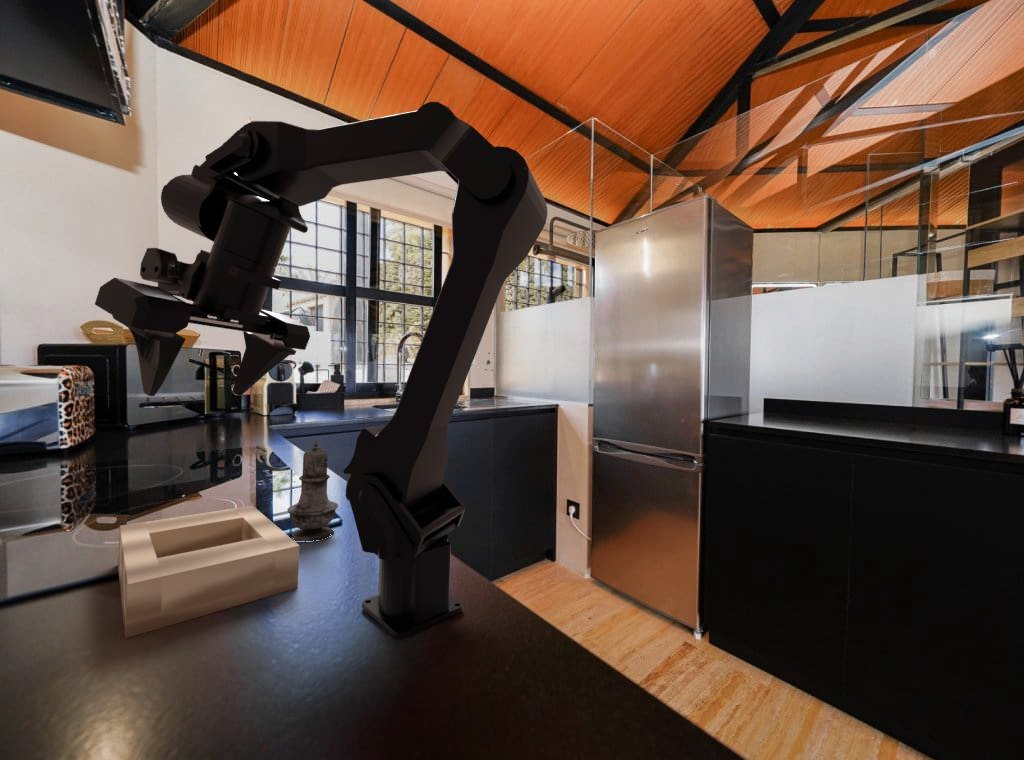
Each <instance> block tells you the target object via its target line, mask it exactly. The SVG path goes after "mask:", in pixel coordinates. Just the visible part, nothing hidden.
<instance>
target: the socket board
mask: <svg viewBox="0 0 1024 760" xmlns="http://www.w3.org/2000/svg"><path fill="white" fill-rule="evenodd" d="M118 534H119V535H118V555H117V556H118V557H117V569H118V579H119V590H120V591H119V592H120V598H121V599H120V600H121V601H120V602H121V607H122V608H121V611H122V621H123V628H124V630H123V631H124V639H128V638H131V637H135V636H137V635H143V634H145V633H148V632H152V631H155V630H159V629H162V628H166V627H168V626H172V625H175V624H176V625H177V624H179V623H182V622H186V621H190V620H193V619H196V618H201V617H202V616H206V615H210V614H213V613H217V612H220V611H223V610H227V609H230V608H234V607H237V606H241V605H244V604H248V603H251V602H255V601H259V600H261V599H264V598H268V597H272V596H275V595H279V594H282V593H285V592H290V591H291V590H296V589H298V588H299V568H300V567H299V565H300V545H299V544H298V543H297V542H295V541H294V540H293V539H291V538H290V537H289V536H290V535H288V534H287V533H286V532H284V531H283V530H282V529H281V528H280V527H278V526H277V525H276V524H275V523H274V522H272V521H271V519H269V518H268V517H267V516H265V515H264V514H263V513H262V512H261V511H260V510H258V509H257V508H256V507H255V506H254V505H247V506H241V507H235V508H234V507H233V508H228V509H221V510H216V511H208V512H201V513H195V514H188V515H181V516H175V517H169V518H161V519H156V520H148V521H142V522H135V523H129V524H122V525H119V533H118Z"/></svg>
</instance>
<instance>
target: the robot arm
mask: <svg viewBox="0 0 1024 760" xmlns="http://www.w3.org/2000/svg"><path fill="white" fill-rule="evenodd" d="M204 158H205V160H204V161H203V162H202V164H200V165H198V164H195V165H193V167H192V168H193V169H192V171H191V173H190V174H181V175H180V174H179V175H177V176H174V177H173V178H171V179H170V180H169V181H168V182H167V183H166V184H164V185H163V187H162V190H161V193H160V203H161V206H162V209H163V211H164V214H165V215H166V216H167V218H168V219H169V220H171V221H172V222H173V223H174V224H176V225H178V226H179V227H181V228H183V229H185V230H188V231H189V232H192V233H194V234H196V235H199V236H200V237H203V238H205V239H207V240H209V241H211V242H213V243H212V246H211V249H210V251H206V250H204V249H200V252H198V253H197V255H196V256H195V259H194V262H193V263H187V262H183V261H179V260H178V257H177V253H175V252H171V251H167V250H164V249H162V248H159V247H158V248H157V247H147V248H146V251H145V253H144V255H143V257H142V260H141V262H140V268H139V269H140V270H139V271H140V272H139V275H140V278H141V279H142V280H144V281H149V282H152V283H157V286H156V285H150V284H145V283H141V282H138V281H137V282H136V281H133V280H128V279H124V278H118V277H113V278H112V279H110V280H108V281H107V282H105V283H104V284H102V285H101V286H100V287H99V289H98V293H97V296H96V300H95V302H94V306H96V307H98V308H100V309H102V310H103V311H105V312H107V313H108V314H110V315H111V316H112V319H113V320H115V321H117V322H118V323H119V324H122V325H124V326H125V327H127V328H128V330H129V331H130V334H131V336H132V338H133V341H134V344H135V347H136V350H137V351H136V352H137V358H138V364H139V369H140V377H141V378H140V379H141V384H142V391H143V393H144V394H146V395H147V396H148V397H155V396H156V394H157V393H158V391H160V389H161V388H162V386H163V384H164V382H165V380H166V378H167V377H168V375H169V373H170V371H171V368H172V367H173V365H174V363H175V361H176V360H177V357H178V355H179V353H180V351H181V350H182V347H183V346H184V344H185V342H186V338H185V337H183V335H180V334H178V333H179V332H180V331H183V330H185V329H186V328H187V327H188V326H189V324H195V325H200V326H207V327H213V328H221V329H226V330H233V331H239V332H242V334H243V337H244V338H243V340H244V344H245V345H244V346H245V350H244V353H243V355H242V359H241V362H240V365H239V366H238V367H239V368H238V369H237V370H238V371H237V373H236V377H235V380H234V383H233V389H232V392H233V394H234V395H236V396H243V395H244V394H245V393H246V392H247V391H249V389H250V388H252V387H253V386H254V385H256V383H257V382H258V381H260V379H262V378H263V377H265V375H266V374H268V373H269V372H270V371H271V370H273V369H274V368H276V366H278V365H279V364H280V363H281V362H283V361H285V359H287V358H288V357H289V356H294V355H296V353H297V350H303V351H304V350H306V349H307V346H308V344H309V341H310V339H311V334H310V331H309V328H308V326H307V325H305V324H303V323H301V322H299V321H297V320H295V319H293V318H290V317H289V316H287V315H285V314H283V313H278V312H273V311H269V310H266V309H262V308H263V305H264V302H265V299H266V297H267V295H268V291H269V288H271V289H273V290H279V289H280V285H281V282H282V280H280V279H278V278H276V277H274V276H275V272H276V269H277V267H278V264H279V262H280V258H281V256H282V253H283V250H284V247H285V244H286V242H287V239H288V236H289V234H290V230H291V229H292V230H296V231H298V232H299V233H303V234H306V233H307V232H308V230H309V229H308V226H307V223H306V221H305V220H304V218H303V217H302V214H301V212H300V207H303V206H306V205H308V204H311V203H314V202H318V201H320V200H323V199H324V200H325V198H326V197H328V195H329V194H330V192H331V191H332V190H333V189H334V188H337V187H338V186H342V185H349V184H356V183H362V182H368V181H369V182H371V181H377V180H383V179H391V178H399V177H405V176H413V175H420V174H429V173H433V172H434V173H435V172H445V174H447V176H448V177H450V179H452V180H453V182H454V183H455V184H456V185H457V188H456V191H455V192H456V193H455V196H454V201H453V207H452V213H451V228H452V229H451V231H452V233H451V235H452V258H451V262H450V264H449V268H448V270H447V272H446V274H445V278H444V281H443V283H442V286H441V289H440V292H439V293H438V297H437V299H436V302H435V304H434V307H433V310H432V313H431V316H430V318H429V320H428V323H427V325H426V329H425V331H424V334H423V337H422V340H421V343H420V345H419V348H418V350H417V353H416V356H415V358H414V360H413V363H412V366H411V369H410V371H409V375H408V376H407V379H406V382H405V385H404V388H403V391H402V392H401V396H400V399H399V401H398V403H397V407H396V409H395V411H394V413H393V415H392V417H391V418H390V419H389V421H387V423H386V424H385V425H381V426H372V427H364V428H362V429H361V431H360V432H359V435H358V436H357V439H356V443H355V448H354V452H353V455H352V458H351V460H350V461H349V464H348V465H347V466H346V467H345V468H344V469H343V474H344V475H348V479H347V481H346V485H345V499H346V500H347V501H349V505H350V508H351V510H352V514H353V518H354V522H355V526H356V530H357V533H358V538H359V542H360V545H361V549H362V551H363V552H365V553H369V554H374V555H375V556H377V558H378V559H379V569H378V572H379V573H378V595H375V596H372V597H368V598H366V599H363V600H362V601H361V608H362V609H363V611H365V612H366V613H367V614H368V615H369V616H370V617H372V618H373V619H374V620H375V621H376V622H377V623H378V624H380V625H381V626H382V628H384V629H385V630H386V631H387V632H388V633H389V634H390V635H392V636H393V637H395V638H396V639H402V638H404V637H407V636H409V635H412V634H414V633H416V632H419V631H420V630H423V629H426V628H428V627H429V626H432V625H434V624H437V623H439V622H441V621H443V620H445V619H448V618H450V617H452V616H455V615H457V614H458V613H461V612H463V610H464V603H463V602H462V601H460V600H458V599H457V598H456V597H453V596H452V595H450V584H451V583H450V581H451V556H452V555H451V552H452V548H451V547H452V543H451V542H450V541H449V534H448V533H449V532H450V531H451V532H452V531H453V530H454V529H457V528H458V527H460V524H461V523H462V522H461V521H462V520H463V517H464V515H465V511H466V505H465V504H464V503H463V502H462V500H461V499H460V498H459V496H458V495H457V494H456V493H455V492H454V490H453V489H452V488H451V487H450V485H449V484H448V483H447V482H446V480H445V474H446V470H447V464H448V459H449V452H448V451H449V449H448V434H447V433H448V426H449V424H450V422H451V418H452V417H453V414H454V411H455V409H456V405H457V403H458V401H459V399H460V398H459V397H460V396H461V393H462V391H463V387H464V385H465V383H466V381H467V378H468V374H469V373H470V370H471V367H472V365H473V362H474V360H475V357H476V355H477V352H478V349H479V347H480V344H481V342H482V340H483V339H482V338H483V336H484V333H485V332H486V329H487V326H488V323H489V321H490V317H491V315H492V313H493V310H494V308H495V306H496V303H497V301H498V297H499V295H500V292H501V290H502V286H503V285H504V283H505V281H506V280H507V279H508V278H509V276H510V275H511V274H512V273H513V272H514V271H515V270H516V269H517V268H518V267H519V266H520V264H522V263H523V261H524V260H526V259H527V258H528V255H529V253H530V252H531V250H532V248H533V246H534V245H535V243H536V241H537V240H538V238H539V236H540V234H541V232H543V229H544V228H545V225H546V222H547V218H548V206H547V202H546V200H545V198H544V195H543V193H542V191H541V189H540V187H539V185H538V183H537V181H536V178H535V177H534V175H533V173H532V171H531V169H530V167H529V165H528V163H527V162H526V161H527V160H526V159H525V157H523V156H522V155H521V154H520V153H519V151H517V150H515V149H513V148H511V147H508V146H499V145H496V146H494V145H493V144H492V143H491V142H490V141H489V140H488V139H487V138H486V137H484V135H482V134H481V133H480V132H479V131H478V130H477V129H476V128H475V127H473V126H472V125H470V123H468V122H466V121H464V120H462V119H461V118H459V117H457V116H456V114H454V112H453V111H452V110H451V108H450V107H449V106H447V105H446V104H442V103H441V102H439V101H429V102H426V103H424V104H423V105H421V106H420V107H419V108H417V110H413V111H407V112H403V113H398V114H392V115H386V116H382V117H375V118H371V119H365V120H360V121H355V122H350V123H344V124H340V125H339V124H338V125H334V126H329V127H324V128H314V129H313V128H304V127H301V126H299V125H298V126H297V125H294V124H291V123H288V122H285V121H281V120H279V121H278V120H254V121H250V122H248V123H246V124H244V125H243V126H241V127H240V128H238V130H237V131H235V133H233V134H232V135H231V136H230V137H229V138H228V139H227V140H226V141H224V142H223V143H222V145H221V146H219V147H217V148H216V149H214V150H213V151H211V152H210V153H208V154H207V155H206V156H205V157H204ZM179 297H180V298H179ZM182 298H183V299H185V300H187V301H190V302H191V301H192V303H190V302H189V303H188V302H186V301H185V300H182Z"/></svg>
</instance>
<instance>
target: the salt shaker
mask: <svg viewBox="0 0 1024 760" xmlns="http://www.w3.org/2000/svg"><path fill="white" fill-rule="evenodd" d="M312 445H313V447H311V448H310V449H307V450H306V451H305V452H304V453H303V457H302V475H301V476H299V477H298V480H299V481H301V486H300V488H301V489H300V495H299V499H298V502H297V503H295V504H292V505H290V506H288V508H287V513H289V519H290V521H291V523H292V525H294V526H295V527H296V528H297V529H296V530H295V531H293V532H292V533H293V534H292V536H293V538H294V539H293V538H291V539H293V540H295V541H305V542H306V541H313V540H314V541H316V540H322V539H325V538H327V537H329V536H331V535H333V534H334V532H335V530H334V529H333V528H330V527H329V526H328V525H329V524H330V523H331V522H332V521H333V519H334V517H335V515H336V510H337V509H338V508H339V504H338V503H337V502H334V501H331V500H330V499H329V498H328V491H327V490H328V480H329V479H330V478H331V476H330V475H329V474H328V457H329V455H328V452H327V451H326V450H325V449H323V448H321V447H319V445H320V444H319V441H317V440H315V441H314V443H312ZM324 526H327V527H324ZM299 529H300V530H299ZM332 529H333V530H334V531H333V530H332ZM330 534H331V535H330ZM334 535H335V534H334ZM334 535H333V536H334ZM325 540H326V539H325ZM322 541H323V540H322Z"/></svg>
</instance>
